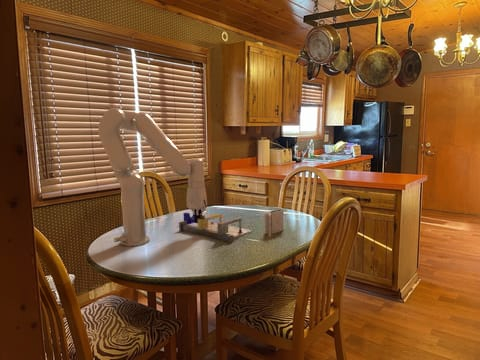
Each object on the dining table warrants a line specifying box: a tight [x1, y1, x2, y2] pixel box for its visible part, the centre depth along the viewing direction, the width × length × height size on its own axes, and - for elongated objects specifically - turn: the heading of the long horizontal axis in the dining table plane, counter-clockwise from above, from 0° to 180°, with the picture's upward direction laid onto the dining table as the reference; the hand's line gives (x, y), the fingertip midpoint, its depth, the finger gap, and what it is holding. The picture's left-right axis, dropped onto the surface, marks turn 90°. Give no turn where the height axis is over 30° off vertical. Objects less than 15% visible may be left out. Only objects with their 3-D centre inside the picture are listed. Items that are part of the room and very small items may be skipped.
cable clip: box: [183, 212, 203, 225], centre depth 198 cm, size 12×4×6 cm, turn 147°
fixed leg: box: [216, 217, 243, 235], centre depth 167 cm, size 15×2×7 cm, turn 139°
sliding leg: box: [197, 213, 223, 230], centre depth 175 cm, size 15×2×8 cm, turn 139°
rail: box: [178, 220, 234, 244], centre depth 171 cm, size 4×33×4 cm, turn 49°
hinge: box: [264, 209, 284, 237], centre depth 174 cm, size 14×5×10 cm, turn 143°
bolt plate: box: [195, 221, 253, 239], centre depth 180 cm, size 12×28×1 cm, turn 49°
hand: (197, 222), depth 173 cm, fingers closed
